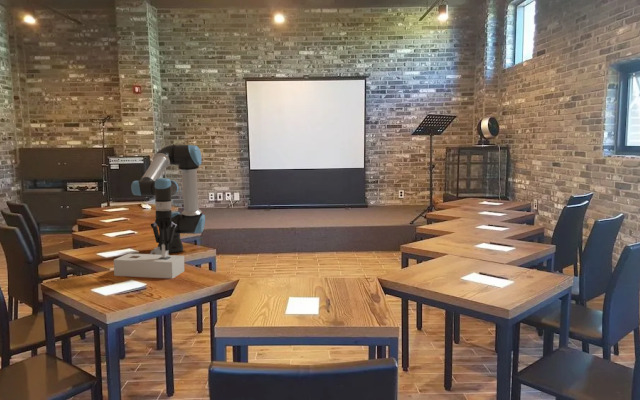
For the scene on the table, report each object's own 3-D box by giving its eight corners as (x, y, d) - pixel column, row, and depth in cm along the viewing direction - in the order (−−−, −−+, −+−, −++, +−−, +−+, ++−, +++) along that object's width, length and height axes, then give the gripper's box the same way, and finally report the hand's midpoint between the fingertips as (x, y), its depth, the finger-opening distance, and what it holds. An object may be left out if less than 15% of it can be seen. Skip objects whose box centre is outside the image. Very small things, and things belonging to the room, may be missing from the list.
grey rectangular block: (129, 268, 247) (128, 253, 246) (184, 271, 243) (184, 255, 242) (114, 275, 233) (113, 259, 232) (172, 278, 229) (172, 262, 228)
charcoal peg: (163, 269, 239) (162, 256, 238) (170, 270, 238) (170, 256, 238) (159, 272, 235) (159, 258, 234) (167, 272, 234) (166, 258, 234)
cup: (166, 266, 252) (165, 249, 251) (147, 265, 253) (147, 249, 252) (170, 262, 260) (170, 246, 259) (152, 262, 260) (152, 246, 259)
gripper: (147, 210, 230) (148, 258, 233) (172, 211, 229) (173, 259, 231) (154, 208, 238) (155, 254, 240) (179, 209, 236) (180, 255, 239)
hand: (164, 256), depth 236 cm, fingers closed
